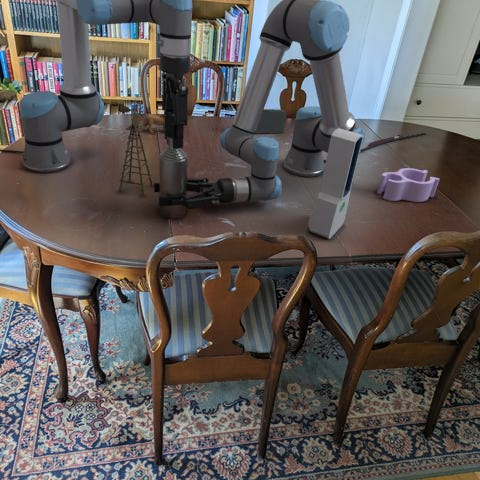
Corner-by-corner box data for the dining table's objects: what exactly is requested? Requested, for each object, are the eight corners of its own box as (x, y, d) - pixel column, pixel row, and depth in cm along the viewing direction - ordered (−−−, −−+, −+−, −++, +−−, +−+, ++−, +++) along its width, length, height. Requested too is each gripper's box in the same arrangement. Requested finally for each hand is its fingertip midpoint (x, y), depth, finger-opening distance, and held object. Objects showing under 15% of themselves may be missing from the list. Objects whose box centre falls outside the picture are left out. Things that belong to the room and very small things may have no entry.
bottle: (159, 218, 136) (158, 143, 124) (160, 205, 143) (160, 133, 131) (185, 218, 138) (188, 145, 125) (185, 206, 144) (188, 134, 132)
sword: (406, 133, 221) (407, 131, 220) (412, 136, 219) (412, 133, 218) (363, 145, 205) (363, 143, 204) (368, 148, 203) (369, 145, 202)
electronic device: (328, 241, 134) (351, 142, 118) (305, 232, 137) (324, 134, 121) (344, 224, 143) (367, 130, 127) (322, 215, 146) (342, 123, 130)
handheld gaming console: (281, 130, 209) (284, 108, 204) (284, 133, 207) (287, 110, 202) (233, 132, 202) (235, 109, 197) (235, 134, 200) (237, 111, 195)
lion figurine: (173, 128, 199) (174, 107, 194) (176, 132, 195) (177, 111, 190) (139, 129, 194) (138, 108, 189) (141, 134, 190) (140, 112, 185)
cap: (178, 147, 127) (178, 139, 125) (164, 144, 127) (164, 137, 126) (183, 142, 130) (183, 135, 129) (169, 140, 130) (169, 132, 129)
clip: (390, 204, 157) (396, 186, 154) (370, 187, 167) (375, 170, 163) (438, 200, 164) (444, 182, 160) (416, 184, 173) (422, 167, 170)
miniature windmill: (143, 196, 146) (140, 101, 130) (117, 192, 147) (112, 96, 131) (153, 184, 154) (152, 93, 137) (129, 180, 155) (125, 88, 138)
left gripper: (149, 46, 121) (150, 132, 134) (173, 64, 107) (172, 158, 120) (176, 46, 124) (175, 130, 137) (203, 64, 111) (199, 155, 123)
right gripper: (240, 217, 136) (162, 223, 129) (221, 185, 152) (151, 189, 146) (242, 195, 132) (162, 200, 125) (223, 164, 148) (151, 167, 142)
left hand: (173, 143), depth 128 cm, fingers open, 6 cm apart
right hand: (156, 194), depth 135 cm, fingers closed on bottle, 8 cm apart
